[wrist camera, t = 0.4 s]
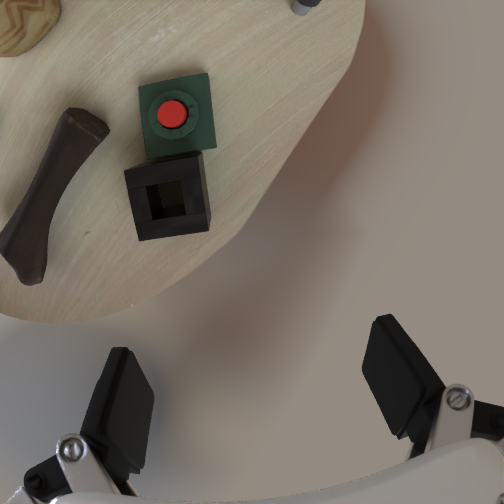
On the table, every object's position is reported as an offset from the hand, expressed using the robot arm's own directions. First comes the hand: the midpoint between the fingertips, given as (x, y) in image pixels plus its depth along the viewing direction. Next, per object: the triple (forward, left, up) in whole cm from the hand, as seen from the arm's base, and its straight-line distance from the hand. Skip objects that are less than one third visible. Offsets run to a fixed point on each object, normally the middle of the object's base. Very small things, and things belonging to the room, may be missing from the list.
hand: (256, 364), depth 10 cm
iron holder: (-1, -8, -30) cm, 31 cm away
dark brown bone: (-5, -28, -30) cm, 42 cm away
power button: (-11, -6, -26) cm, 29 cm away
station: (-11, -6, -30) cm, 33 cm away
